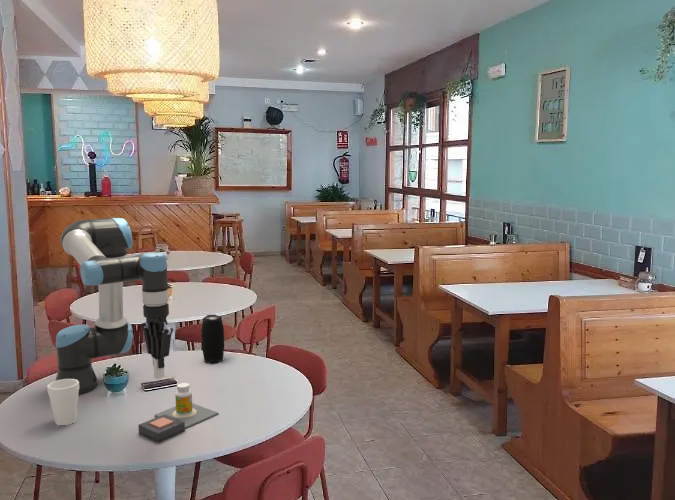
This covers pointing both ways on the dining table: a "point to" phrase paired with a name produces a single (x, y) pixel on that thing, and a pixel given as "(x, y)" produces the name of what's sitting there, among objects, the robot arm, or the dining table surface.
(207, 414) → the slate board
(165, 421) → the button
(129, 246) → the robot arm
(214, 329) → the portable speaker
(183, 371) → the dining table surface
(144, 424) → the button housing
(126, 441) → the dining table surface
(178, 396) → the supplement bottle
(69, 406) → the foam cup
